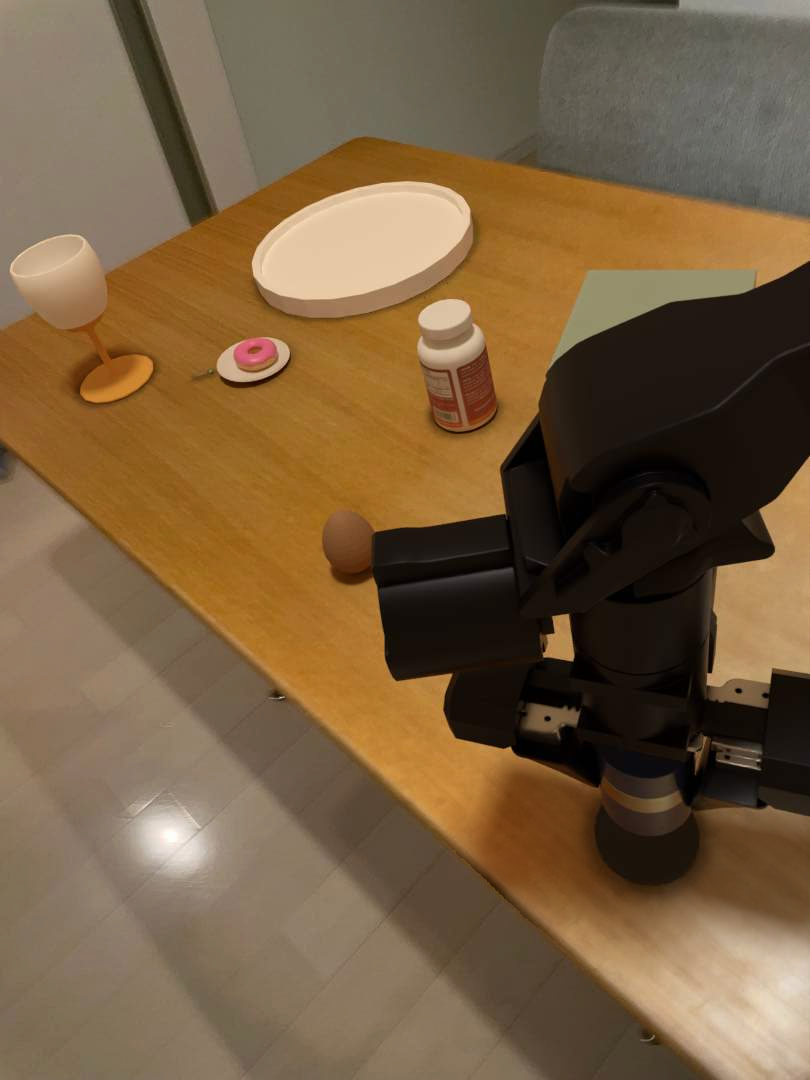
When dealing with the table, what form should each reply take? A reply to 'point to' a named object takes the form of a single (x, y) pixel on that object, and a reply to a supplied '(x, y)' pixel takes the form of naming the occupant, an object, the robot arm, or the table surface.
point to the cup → (77, 308)
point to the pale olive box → (642, 296)
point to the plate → (363, 249)
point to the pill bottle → (455, 366)
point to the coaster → (646, 851)
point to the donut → (252, 359)
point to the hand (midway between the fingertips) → (645, 790)
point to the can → (645, 789)
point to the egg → (347, 541)
